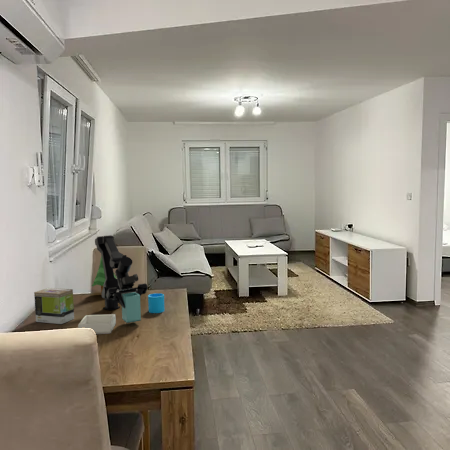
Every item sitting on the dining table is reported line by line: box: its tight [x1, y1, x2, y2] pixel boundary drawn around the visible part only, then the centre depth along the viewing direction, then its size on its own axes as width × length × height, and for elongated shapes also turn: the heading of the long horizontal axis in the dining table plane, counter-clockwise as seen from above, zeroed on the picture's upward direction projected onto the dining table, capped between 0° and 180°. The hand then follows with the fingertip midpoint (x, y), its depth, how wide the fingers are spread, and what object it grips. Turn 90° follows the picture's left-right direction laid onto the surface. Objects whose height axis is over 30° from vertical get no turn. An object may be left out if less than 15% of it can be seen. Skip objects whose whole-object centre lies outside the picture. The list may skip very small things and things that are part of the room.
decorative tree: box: [91, 256, 117, 296], centre depth 255 cm, size 14×16×30 cm
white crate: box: [77, 313, 117, 335], centre depth 195 cm, size 14×14×4 cm
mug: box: [147, 292, 165, 314], centre depth 224 cm, size 12×8×8 cm
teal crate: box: [121, 292, 142, 324], centre depth 201 cm, size 7×7×12 cm
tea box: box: [33, 287, 75, 325], centre depth 209 cm, size 15×10×15 cm
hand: (132, 306), depth 200 cm, fingers closed on teal crate, 7 cm apart
